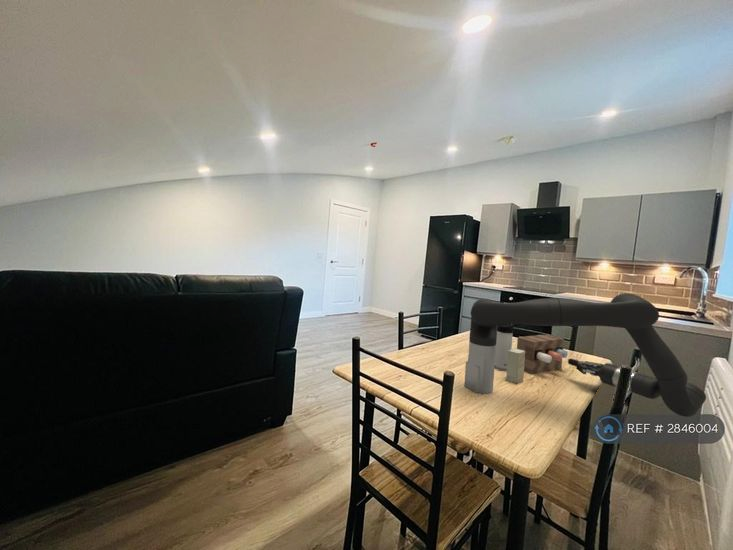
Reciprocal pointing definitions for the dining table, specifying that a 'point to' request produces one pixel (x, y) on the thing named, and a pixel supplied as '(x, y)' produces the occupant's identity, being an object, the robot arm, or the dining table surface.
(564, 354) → the blue key
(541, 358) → the white key
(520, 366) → the skincare box
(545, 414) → the dining table surface
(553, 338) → the box
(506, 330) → the travel mug
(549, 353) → the red key
